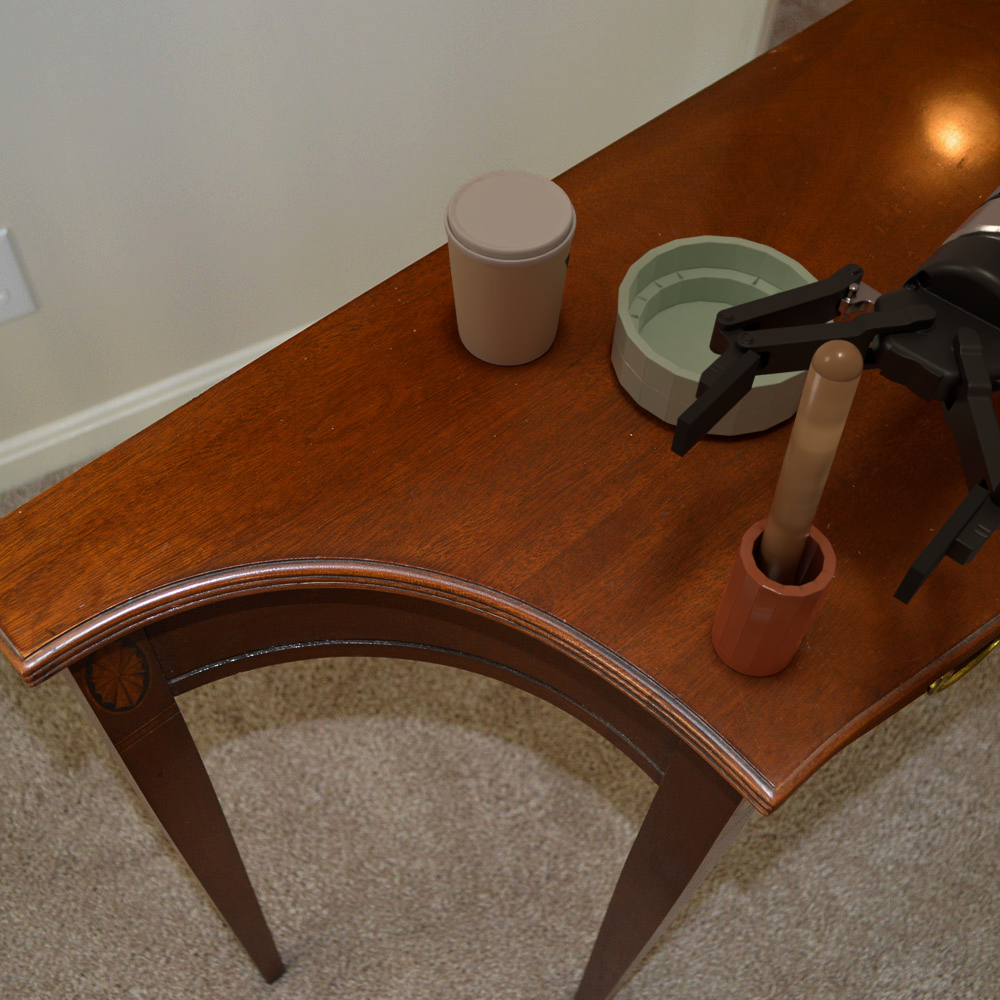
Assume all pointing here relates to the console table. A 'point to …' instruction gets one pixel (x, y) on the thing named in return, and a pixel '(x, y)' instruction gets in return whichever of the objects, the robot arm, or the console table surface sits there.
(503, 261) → the coffee cup
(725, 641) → the crock
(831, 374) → the stick
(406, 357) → the console table surface
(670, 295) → the bowl
